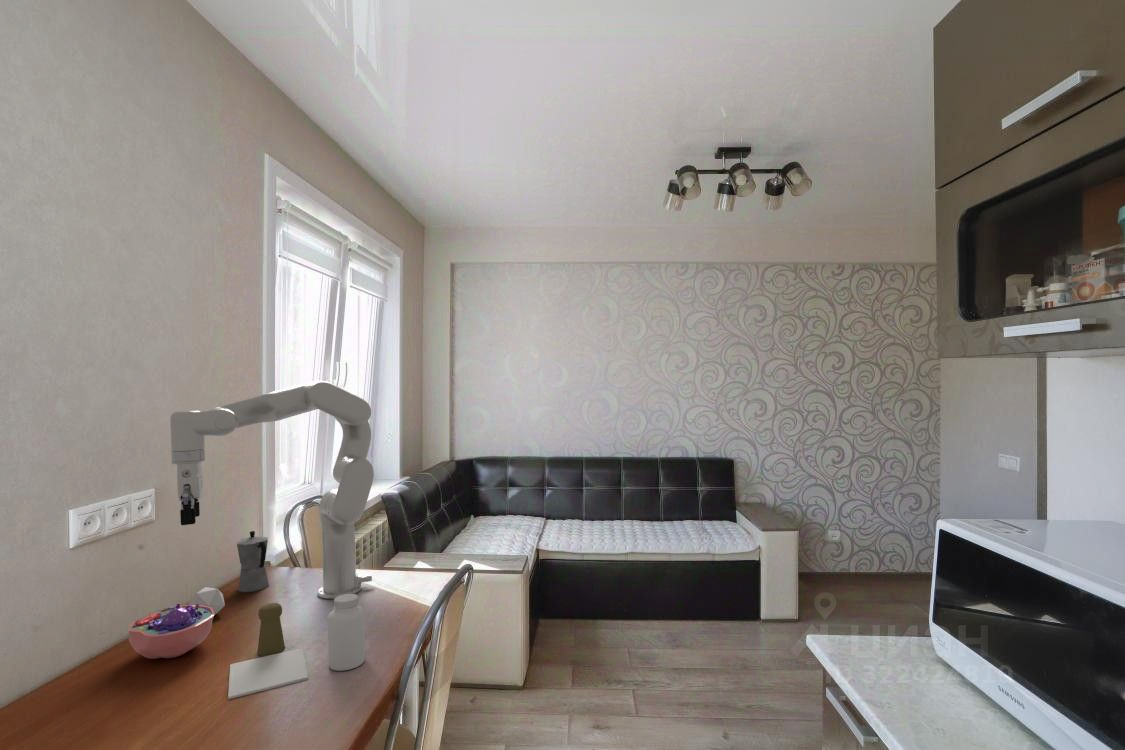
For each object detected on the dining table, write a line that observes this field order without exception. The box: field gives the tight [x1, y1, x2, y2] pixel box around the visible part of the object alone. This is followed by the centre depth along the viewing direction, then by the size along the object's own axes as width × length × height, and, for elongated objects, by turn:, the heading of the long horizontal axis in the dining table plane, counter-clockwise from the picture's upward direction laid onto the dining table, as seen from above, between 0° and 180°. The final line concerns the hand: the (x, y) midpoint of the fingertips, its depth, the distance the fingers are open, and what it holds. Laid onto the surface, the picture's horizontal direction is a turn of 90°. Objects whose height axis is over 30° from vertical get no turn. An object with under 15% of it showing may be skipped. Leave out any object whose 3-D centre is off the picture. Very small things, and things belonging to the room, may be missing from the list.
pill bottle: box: [327, 593, 366, 672], centre depth 131 cm, size 8×8×15 cm
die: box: [188, 586, 226, 615], centre depth 161 cm, size 8×9×10 cm
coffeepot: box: [236, 530, 270, 593], centre depth 183 cm, size 15×9×18 cm, turn 51°
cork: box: [256, 602, 286, 657], centre depth 139 cm, size 6×6×11 cm
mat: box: [227, 647, 309, 700], centre depth 128 cm, size 15×16×1 cm
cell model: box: [128, 603, 216, 660], centre depth 139 cm, size 17×20×11 cm
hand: (190, 520), depth 154 cm, fingers open, 9 cm apart
